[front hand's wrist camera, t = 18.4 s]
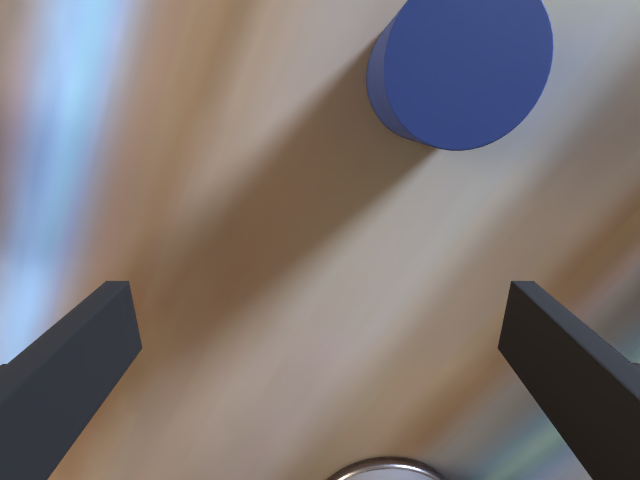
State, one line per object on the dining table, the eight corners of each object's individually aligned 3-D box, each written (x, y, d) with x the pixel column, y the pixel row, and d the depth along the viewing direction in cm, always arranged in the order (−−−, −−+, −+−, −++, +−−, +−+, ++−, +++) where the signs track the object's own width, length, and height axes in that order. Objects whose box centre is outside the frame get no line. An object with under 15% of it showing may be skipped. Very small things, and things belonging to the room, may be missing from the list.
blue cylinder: (393, 161, 28) (417, 177, 21) (346, 43, 26) (356, 18, 19) (507, 107, 27) (571, 106, 20) (469, -23, 24) (528, -74, 18)
